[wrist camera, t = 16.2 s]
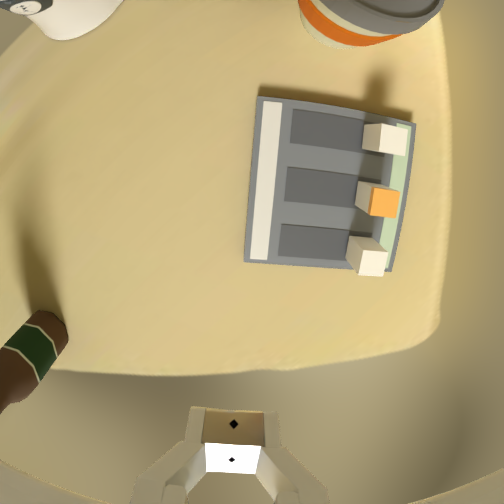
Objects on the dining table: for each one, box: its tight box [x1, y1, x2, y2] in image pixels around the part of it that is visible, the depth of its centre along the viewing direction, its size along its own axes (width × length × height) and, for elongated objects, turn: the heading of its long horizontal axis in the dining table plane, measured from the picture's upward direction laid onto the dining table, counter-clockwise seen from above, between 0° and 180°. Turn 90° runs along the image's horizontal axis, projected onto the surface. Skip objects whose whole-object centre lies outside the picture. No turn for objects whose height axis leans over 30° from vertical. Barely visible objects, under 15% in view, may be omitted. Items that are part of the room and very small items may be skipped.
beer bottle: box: [0, 310, 68, 414], centre depth 32 cm, size 8×8×24 cm
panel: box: [244, 96, 416, 272], centre depth 36 cm, size 19×19×2 cm
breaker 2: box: [345, 236, 389, 276], centre depth 34 cm, size 3×3×5 cm
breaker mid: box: [355, 181, 400, 218], centre depth 32 cm, size 3×3×5 cm
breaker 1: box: [362, 123, 408, 156], centre depth 30 cm, size 3×3×5 cm
